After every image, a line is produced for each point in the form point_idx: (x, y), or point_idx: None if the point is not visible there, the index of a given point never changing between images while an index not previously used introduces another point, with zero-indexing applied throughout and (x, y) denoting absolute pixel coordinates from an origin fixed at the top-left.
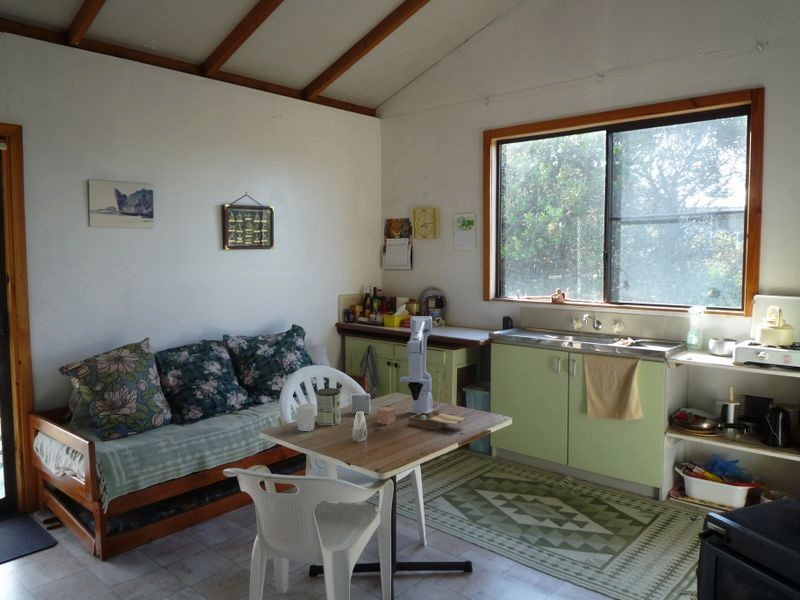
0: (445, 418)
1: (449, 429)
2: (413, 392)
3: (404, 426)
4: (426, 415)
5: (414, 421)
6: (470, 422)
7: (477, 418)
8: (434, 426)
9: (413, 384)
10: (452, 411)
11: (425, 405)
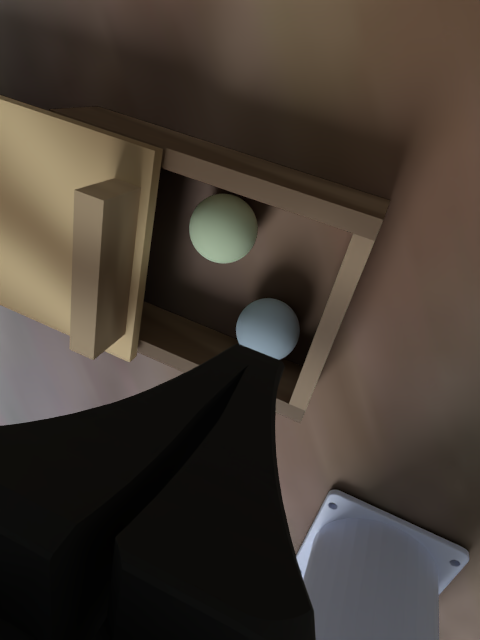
0: (4, 205)
1: None
2: (213, 434)
3: (425, 129)
4: None
5: (309, 187)
6: (8, 352)
7: None
8: (98, 114)
9: (37, 584)
10: None
11: (313, 573)
